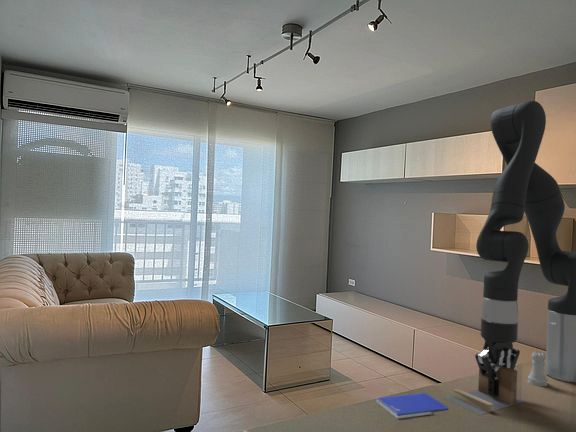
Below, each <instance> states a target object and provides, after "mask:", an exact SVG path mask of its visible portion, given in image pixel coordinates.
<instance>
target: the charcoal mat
mask: <svg viewBox="0 0 576 432" xmlns="http://www.w3.org/2000/svg"><path fill="white" fill-rule="evenodd" d="M466 393H469V394H471V395H473V396H476V397H478V398H480V399H483V400H485V401H487V402H490V403H492V404H493V411H492V412H495V411H500V410H502V409H506V408H509V407H511V406H514V405H518V404H522V403H525V402H526V400H524V399H522V398H519V397H518V396H516V403H513V404H509V403H507V402H504V401H502V400H499V399H497V398H494V397H492V396H490V395H487V394H485V393H482V392H480V391H478V389H475V390H473V391H472V390H471V391H468V392H466ZM444 400H446V401H449V402H450V403H452V404H455V405H457V406H458V407H462V408H463V409H465V410H468V411H469V412H472V413H474V414H476V415H479V416H482V415H486V414H488V413H490V412H486V411H484V410H482V409H480V408H478V407H475V406H473V405H471V404H469V403H467V402H464V401H462V400H460V399H458V398H455V397H453V395H452V396H448V397H444ZM492 412H491V413H492Z"/></svg>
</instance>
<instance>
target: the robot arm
mask: <svg viewBox="0 0 576 432" xmlns="http://www.w3.org/2000/svg"><path fill="white" fill-rule="evenodd" d="M490 116H491V117H490V129H491V133H492V135H493V138H494V139H493V140H494V141H495V142H496V145H497V147H498V149H499V151H500V153H501V155H502V157H503V160H504V162H505V163H506V167H505V168H504V169H503V171H502V172H501V174H500V175H499V177H498V178H497V180H496V181H495V184H494V187H493V191H492V198H491V204H490V209H489V213H488V215H487V218H486V220H485V222H484V225H483V227H482V228H481V230H480V232H479V235H478V237H477V238H476V239H477V240H476V243H475V245H476V252H477V255H478V256H479V257H480V259H482V260H484V261H488V262H490V261H492V262H502V263H503V262H504V263H507V265H506V267H505V268H504V269H503V270H496V271H488V272H486V273H485V274H484V277H483V295H482V296H483V297H482V301H481V302H482V303H481V312H480V313H481V317H480V336H481V338H482V339H483V340H484V344H483V347H482V349H483V351H482V352H481V353H475V355H474V356H475V357H474V358H475V361H476V363H477V365H478V370H479V369H480V372H481V374H482V376H485V377H488V393H489V394H490V395H492V396H495V397H497V396H498V395H499V374H500V370H502V366H504V367H507V368H510V369H513V370H515V368H516V364H517V362H518V359H519V357H520V353H521V351H520V350H519V349H518V348H517V349H516V348H514V345H513V343H516V342H517V341H518V332H519V331H518V329H519V325H518V324H519V306H518V305H519V304H518V296H519V295H518V294H519V293H518V291H519V281H520V276H521V271H522V270H523V269H522V268H523V265H524V263H525V261H526V258H527V256H528V251H529V246H530V244H529V240H528V238H527V237H526V235H525V234H524V233H523V232H521V231H516V230H515V231H514V230H513V231H512V230H502V229H503V228H504V227H505V226H509V225H515V224H518V223H521V221H523V219H524V216H526V219H527V222H528V226H529V228H530V232H531V234H532V238H533V241H534V244H535V248H536V252H537V257H538V261H539V266H540V269H541V272H542V274H543V277H544V278H545V280H546V281H548V282H549V283H551V284H554V285H560V286H564V287H565V286H566V287H567V291H566V293H565V294H564V295H561V296H557V297H552V298H549V299H548V303H547V317H546V318H547V324H546V325H547V326H546V350H545V351H546V353H545V357H546V359H545V370H544V373H545V375H548V377H550V378H553V379H556V380H558V381H559V380H560V381H563V382H568V383H576V251H571V250H570V251H568V250H562V249H561V247H560V245H559V243H558V238H557V231H558V228H559V227H560V223H561V222H562V219H563V217H564V213H565V201H564V198H563V195H562V192H561V189H560V186H559V184H558V182H557V180H556V179H555V178H554V177H553V176H552V175H551V174H550V173H548V172H547V171H546V170H545V169H544V168H543V167H542V166H540V165H539V164H537V163H536V159H537V156H538V153H539V151H540V147H541V144H542V141H543V138H544V134H545V130H546V126H547V125H546V124H547V120H546V118H547V117H546V112H545V109H544V107H543V105H541V103H539V102H538V101H536V100H526V101H523V102H519V103H515V104H511V105H508V106H505V107H500V108H499V109H497V110H494V111H493V112H492V114H491V115H490ZM492 363H493V364H492ZM494 364H496V365H494ZM492 369H494V370H495V372H494V373H493V370H492Z"/></svg>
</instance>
